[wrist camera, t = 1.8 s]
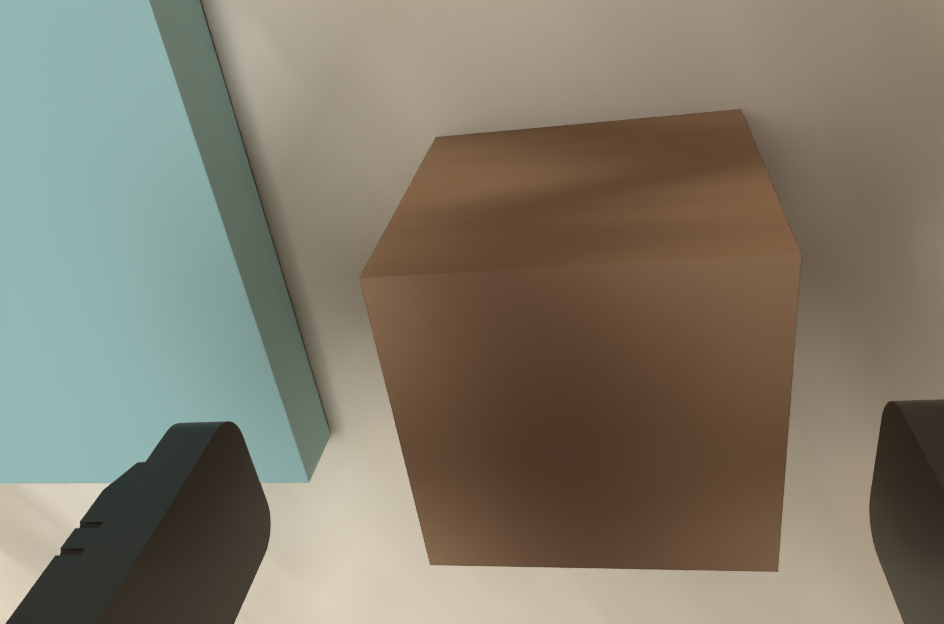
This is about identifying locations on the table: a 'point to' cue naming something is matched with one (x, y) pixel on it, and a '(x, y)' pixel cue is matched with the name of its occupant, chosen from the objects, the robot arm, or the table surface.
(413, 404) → the walnut cube
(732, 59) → the table surface
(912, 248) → the table surface
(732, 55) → the table surface
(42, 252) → the teal board
